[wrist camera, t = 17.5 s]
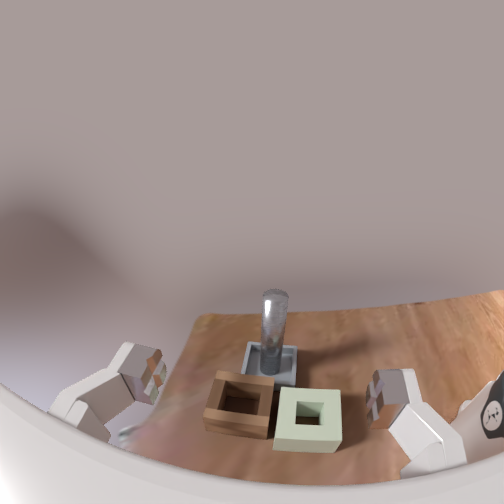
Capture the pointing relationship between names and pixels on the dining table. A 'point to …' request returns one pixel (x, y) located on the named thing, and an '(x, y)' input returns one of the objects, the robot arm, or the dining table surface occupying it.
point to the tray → (287, 366)
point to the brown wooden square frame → (240, 388)
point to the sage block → (308, 405)
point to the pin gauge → (272, 330)
